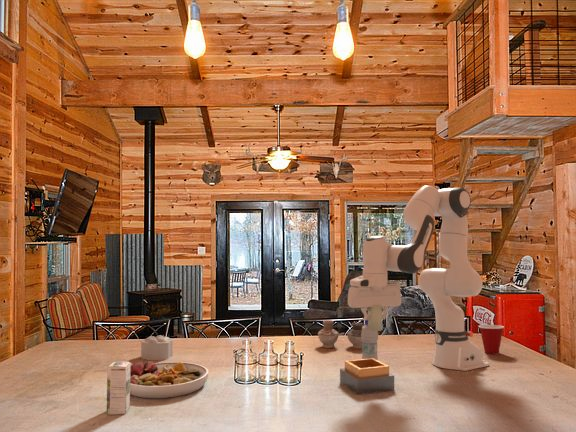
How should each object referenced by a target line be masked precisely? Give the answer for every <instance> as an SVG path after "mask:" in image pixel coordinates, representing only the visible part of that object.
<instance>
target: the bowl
mask: <svg viewBox="0 0 576 432" xmlns="http://www.w3.org/2000/svg"><path fill="white" fill-rule="evenodd" d="M208 377H209V369H208V368H207V367H205V366H204V365H201V364H197V363H194V362H193V363H191V362H185V361H183V362H182V361H168V362H165V361H164V362H157V363H155V362H154V361H153V360H147V361H146V362H145V363H143V362H142V361H136V362H134V363H131V365H130V396H131V395H132V396H135V397H138V398H143V399H169V397H170V398H177V397H182V396H185V394H186V395H188V394H191V393H193V392H196V391H198V390H200V389H201V388H202V387H203V386H204V385H205V384H206V382H207V380H208ZM181 395H182V396H181ZM176 396H177V397H176Z"/></svg>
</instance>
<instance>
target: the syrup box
mask: <svg viewBox="0 0 576 432" xmlns="http://www.w3.org/2000/svg"><path fill="white" fill-rule="evenodd" d="M131 365H132V363H131V362H129V361H113V362H112V363H110V365H109V366H107V372H106V373H107V379H106V380H107V381H106V415H107V416H108V415H109V416H111V415H126V414H127V413H128V411H129V409H130V407H131V394H130V366H131Z"/></svg>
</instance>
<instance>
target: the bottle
mask: <svg viewBox="0 0 576 432" xmlns="http://www.w3.org/2000/svg"><path fill="white" fill-rule="evenodd" d="M364 321H365V323H364V324H365V326H363V327H362V333H361V336H362V337H361V338H362V349H361V354H362V355H361V359H369V358H374V359H376V360H378V361H379V355H378V341H379V331H371V330H368V320H364Z"/></svg>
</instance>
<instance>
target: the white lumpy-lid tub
mask: <svg viewBox="0 0 576 432" xmlns="http://www.w3.org/2000/svg"><path fill="white" fill-rule="evenodd" d="M140 343H141V344H140V345H141V346H140V352H141V353H140V357H141V359H142V360H146V361H166V359H167V360H169V359H170V358H171V357H173V356H174V354H173V351H174V350H173V349H174V347H173V345H174V343H173V338H170V337H168V336H163V335H161V334H160V335H157V336H153V335H152V336H151V335H150V336H148V337H146V338H144V339H142V340H140Z"/></svg>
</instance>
